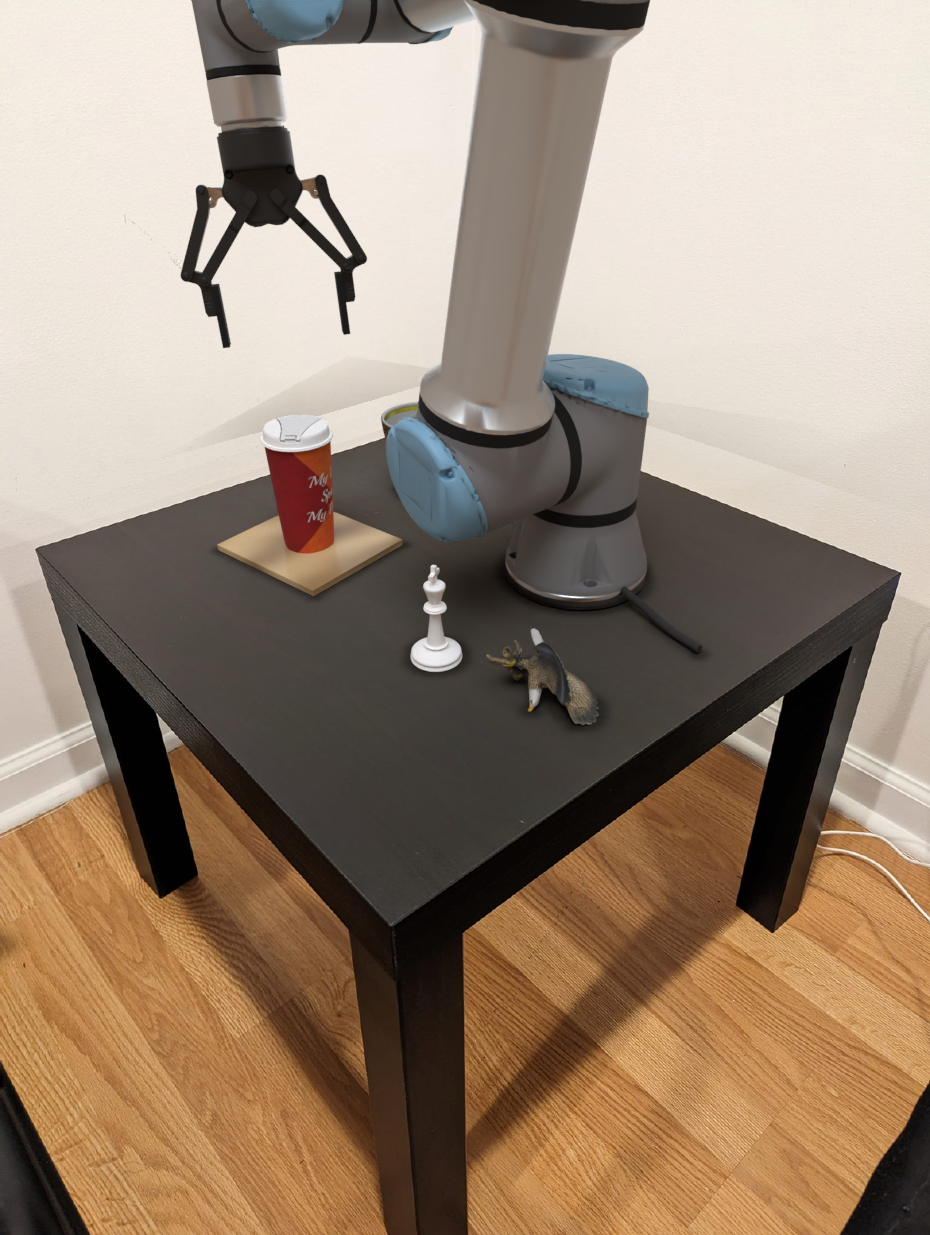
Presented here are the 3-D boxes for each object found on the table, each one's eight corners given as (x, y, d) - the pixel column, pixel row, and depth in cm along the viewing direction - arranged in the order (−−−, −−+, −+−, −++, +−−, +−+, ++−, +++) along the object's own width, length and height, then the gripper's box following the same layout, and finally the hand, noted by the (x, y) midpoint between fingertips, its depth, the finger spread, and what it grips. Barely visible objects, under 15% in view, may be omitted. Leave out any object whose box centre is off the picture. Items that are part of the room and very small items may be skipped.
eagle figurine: (474, 700, 75) (561, 727, 70) (492, 620, 75) (580, 641, 70) (523, 703, 81) (606, 728, 76) (539, 628, 81) (624, 648, 76)
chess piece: (469, 646, 84) (468, 557, 78) (452, 676, 80) (450, 584, 74) (421, 637, 85) (417, 548, 80) (402, 666, 81) (397, 575, 76)
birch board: (402, 545, 101) (402, 539, 100) (313, 596, 92) (312, 590, 91) (308, 506, 109) (307, 500, 108) (217, 550, 100) (216, 544, 99)
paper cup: (338, 558, 96) (325, 439, 89) (269, 558, 97) (251, 439, 89) (347, 525, 103) (337, 411, 95) (283, 524, 103) (267, 411, 95)
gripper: (368, 120, 95) (390, 322, 105) (133, 138, 91) (178, 346, 101) (375, 116, 88) (398, 332, 98) (122, 135, 85) (172, 357, 95)
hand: (287, 339), depth 100 cm, fingers open, 13 cm apart
